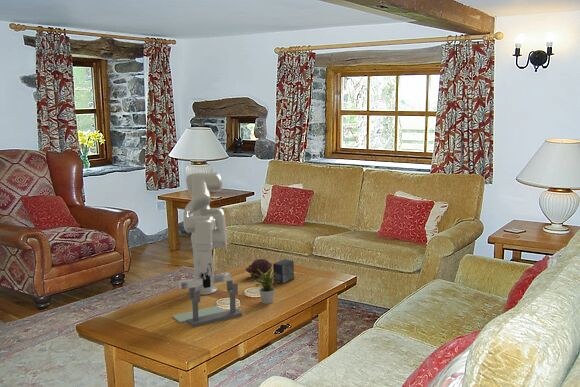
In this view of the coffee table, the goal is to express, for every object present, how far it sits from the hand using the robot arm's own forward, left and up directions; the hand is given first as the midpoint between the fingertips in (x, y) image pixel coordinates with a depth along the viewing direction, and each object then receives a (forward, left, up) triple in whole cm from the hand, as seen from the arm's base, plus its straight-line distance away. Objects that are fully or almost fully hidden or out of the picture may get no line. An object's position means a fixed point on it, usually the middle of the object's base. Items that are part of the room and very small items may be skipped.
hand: (205, 286), depth 272 cm
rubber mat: (0, 0, -13) cm, 13 cm away
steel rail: (0, 0, +1) cm, 1 cm away
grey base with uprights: (+9, 0, -13) cm, 16 cm away
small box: (-21, +54, -13) cm, 60 cm away
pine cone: (-34, +47, -13) cm, 60 cm away
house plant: (+1, +31, -13) cm, 34 cm away
